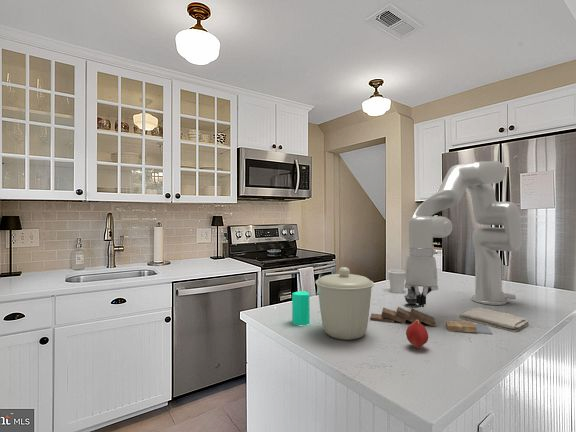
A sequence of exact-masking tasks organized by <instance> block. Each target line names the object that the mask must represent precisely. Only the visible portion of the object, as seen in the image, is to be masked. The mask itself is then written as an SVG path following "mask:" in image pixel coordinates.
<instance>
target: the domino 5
mask: <svg viewBox="0 0 576 432" xmlns="http://www.w3.org/2000/svg"><path fill="white" fill-rule="evenodd" d="M474 324H475V322H473V321H459V320H457V321H456V320H446V321H445V326H446V329H447V331H448V332H463V333H464V332H465V333H474V332H477V330H476V326H475V325H474Z"/></svg>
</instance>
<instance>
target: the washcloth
mask: <svg viewBox="0 0 576 432" xmlns="http://www.w3.org/2000/svg"><path fill="white" fill-rule="evenodd" d="M459 318H460V319H462V320H466V321H468V322H473V323H476V324H482V325H486V326H487V327H488V326H489V327H493V328H497V329H501V330H503V331H508V332H512V333H516V332H520V331H522V330H523V329H524V328H526V327H528V326H529V321H528V320H526V318H524V317H518V316H516V315H513V314H511V313H510V312H509V313H508V312H501V311H497V310H492V309H487V308H482V307H473V308H471V309H470V310H467V311H465V312H462V313H460V315H459Z"/></svg>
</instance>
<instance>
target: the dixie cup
mask: <svg viewBox="0 0 576 432" xmlns="http://www.w3.org/2000/svg"><path fill="white" fill-rule="evenodd" d="M387 272H388V278H389V279H388V280H389V286H390V292H391V293H394V294H403V293H404V288H405V282H406V281H405V270H402V269H388V270H387Z"/></svg>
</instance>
